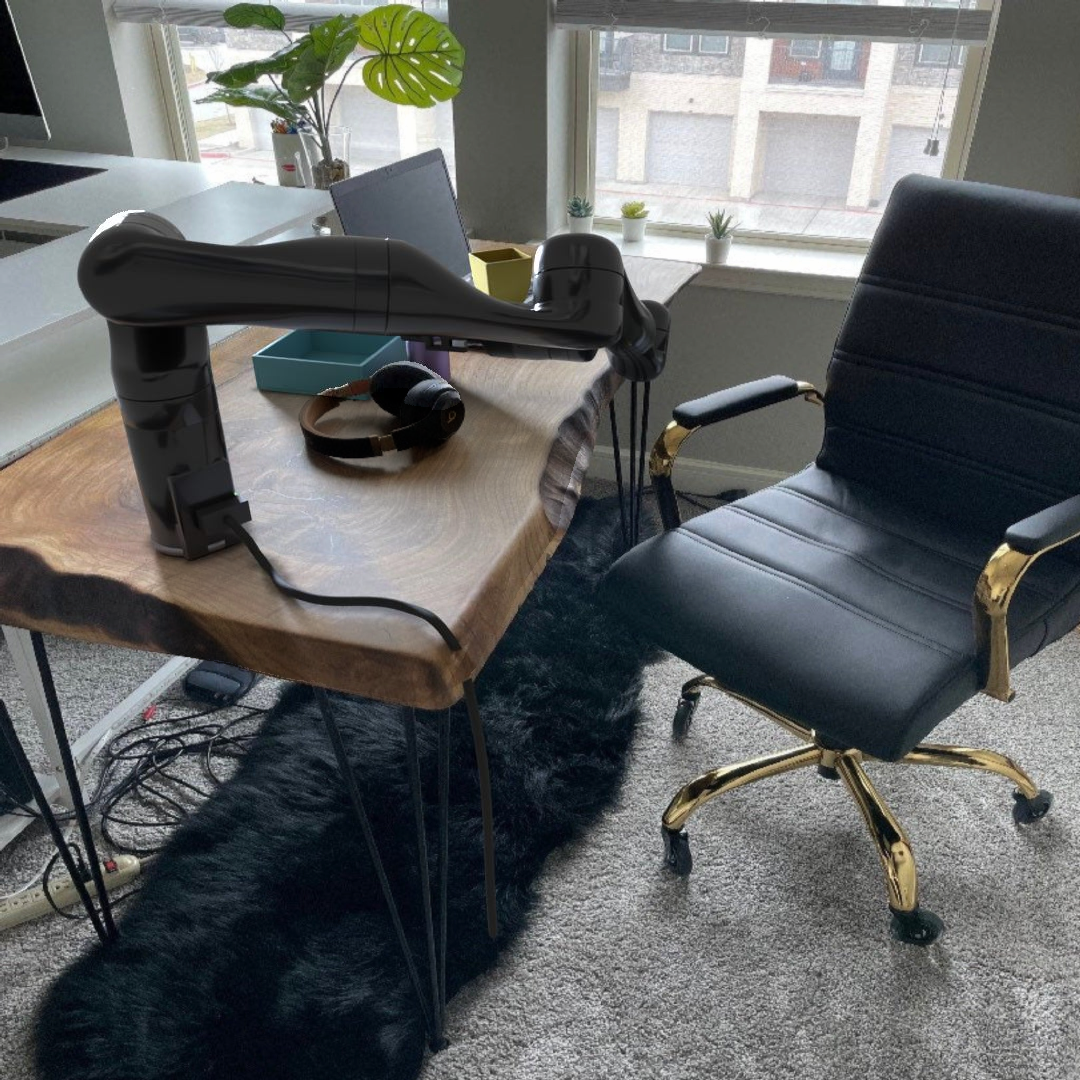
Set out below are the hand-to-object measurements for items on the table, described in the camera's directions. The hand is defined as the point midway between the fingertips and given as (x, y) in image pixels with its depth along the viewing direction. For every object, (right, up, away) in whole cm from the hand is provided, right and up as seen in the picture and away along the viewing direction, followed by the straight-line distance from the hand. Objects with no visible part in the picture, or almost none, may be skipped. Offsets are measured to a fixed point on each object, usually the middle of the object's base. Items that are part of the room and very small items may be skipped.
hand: (413, 322), depth 139 cm
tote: (-12, -6, +8) cm, 16 cm away
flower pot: (+11, +10, +36) cm, 39 cm away
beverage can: (+2, -8, +4) cm, 9 cm away
